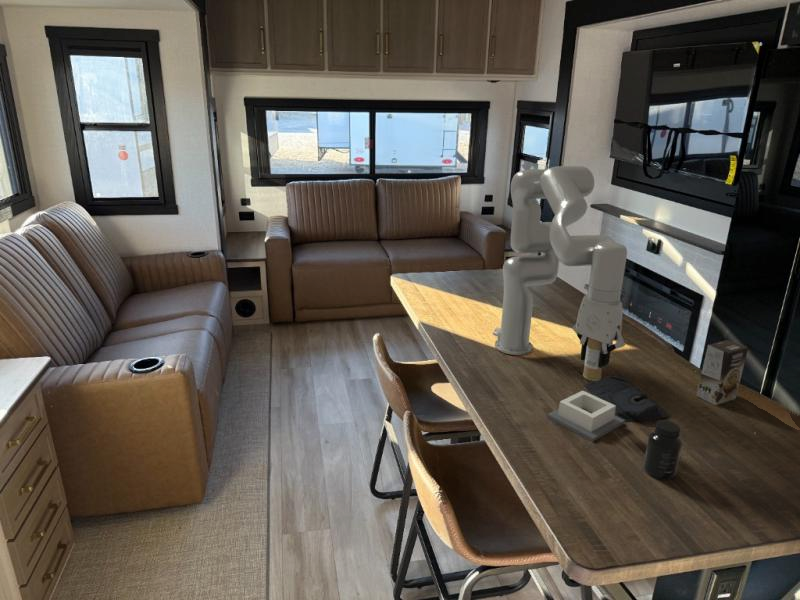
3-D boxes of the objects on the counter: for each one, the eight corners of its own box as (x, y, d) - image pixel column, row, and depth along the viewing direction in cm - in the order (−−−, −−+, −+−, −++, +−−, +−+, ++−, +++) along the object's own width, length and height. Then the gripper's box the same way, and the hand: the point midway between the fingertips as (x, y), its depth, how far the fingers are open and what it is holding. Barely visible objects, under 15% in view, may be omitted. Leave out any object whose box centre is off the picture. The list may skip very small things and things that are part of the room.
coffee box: (716, 406, 158) (728, 353, 152) (695, 395, 163) (706, 344, 157) (736, 399, 162) (749, 347, 156) (715, 389, 167) (727, 338, 161)
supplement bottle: (637, 462, 132) (645, 417, 128) (665, 461, 133) (674, 416, 129) (652, 481, 126) (661, 434, 122) (681, 480, 126) (691, 433, 122)
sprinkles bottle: (604, 378, 144) (612, 329, 140) (592, 383, 142) (600, 333, 137) (590, 371, 148) (596, 323, 143) (578, 375, 145) (584, 327, 141)
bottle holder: (546, 417, 150) (548, 400, 149) (578, 401, 158) (580, 385, 157) (592, 441, 140) (595, 424, 138) (624, 423, 148) (627, 406, 146)
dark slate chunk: (627, 382, 171) (630, 368, 169) (672, 421, 150) (675, 405, 149) (580, 385, 168) (582, 371, 167) (619, 425, 148) (622, 409, 146)
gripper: (565, 287, 141) (557, 354, 147) (627, 306, 129) (615, 379, 135) (583, 282, 146) (574, 347, 152) (644, 300, 133) (632, 370, 139)
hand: (594, 361), depth 143 cm, fingers closed on sprinkles bottle, 4 cm apart
